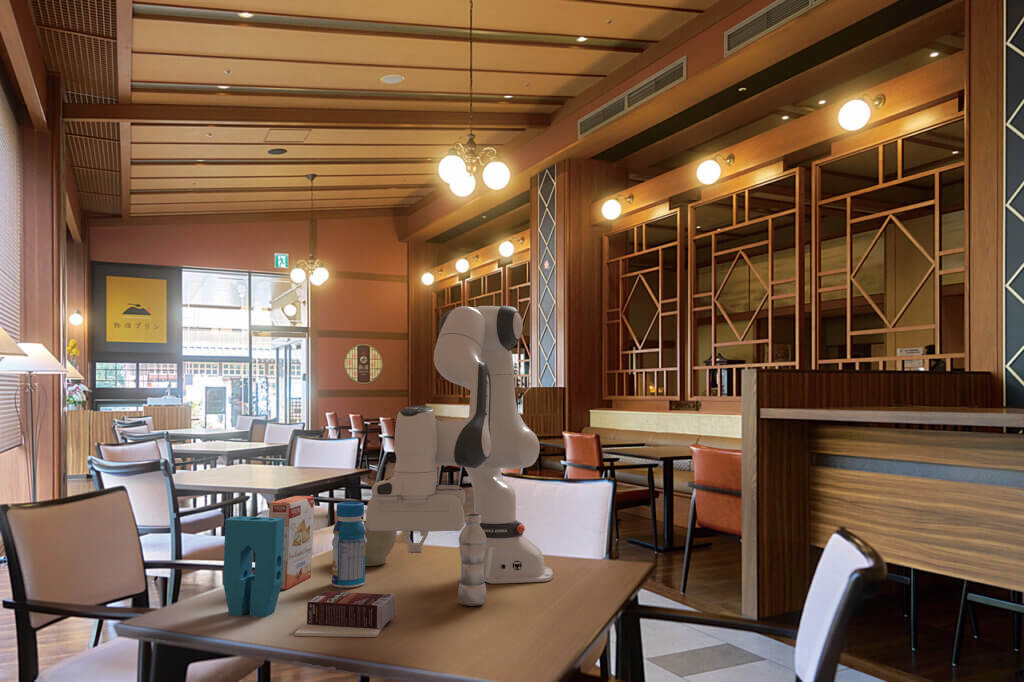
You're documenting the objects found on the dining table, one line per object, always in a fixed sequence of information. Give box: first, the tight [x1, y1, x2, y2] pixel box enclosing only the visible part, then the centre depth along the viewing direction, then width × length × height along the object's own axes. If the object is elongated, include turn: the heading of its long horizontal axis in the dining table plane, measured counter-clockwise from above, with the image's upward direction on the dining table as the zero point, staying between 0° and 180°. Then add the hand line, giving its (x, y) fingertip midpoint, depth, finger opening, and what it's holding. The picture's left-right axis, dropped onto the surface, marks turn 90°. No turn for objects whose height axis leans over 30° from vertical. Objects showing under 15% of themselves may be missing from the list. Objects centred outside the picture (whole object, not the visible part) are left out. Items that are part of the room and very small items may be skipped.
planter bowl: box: [363, 520, 398, 567], centre depth 207 cm, size 16×16×11 cm
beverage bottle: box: [331, 501, 367, 589], centre depth 184 cm, size 8×8×20 cm
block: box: [222, 515, 285, 618], centre depth 159 cm, size 12×5×20 cm, turn 79°
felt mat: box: [294, 620, 384, 638], centre depth 150 cm, size 16×14×1 cm
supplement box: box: [306, 590, 396, 629], centre depth 151 cm, size 9×5×16 cm
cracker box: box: [268, 495, 315, 591], centre depth 185 cm, size 14×6×21 cm, turn 170°
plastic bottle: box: [457, 513, 488, 607], centre depth 166 cm, size 6×7×20 cm
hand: (415, 552), depth 151 cm, fingers closed
